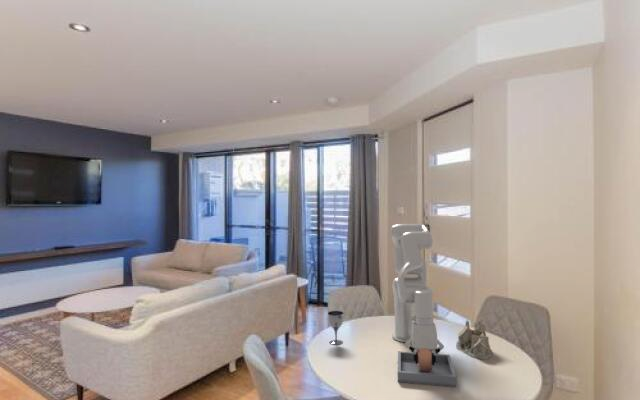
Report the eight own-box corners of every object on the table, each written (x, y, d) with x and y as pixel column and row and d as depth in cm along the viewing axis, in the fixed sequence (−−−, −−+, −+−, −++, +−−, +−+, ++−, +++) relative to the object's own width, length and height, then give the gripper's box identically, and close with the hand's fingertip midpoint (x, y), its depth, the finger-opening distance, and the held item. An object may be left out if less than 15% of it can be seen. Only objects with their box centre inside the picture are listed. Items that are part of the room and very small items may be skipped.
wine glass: (342, 346, 180) (342, 315, 180) (327, 345, 182) (326, 315, 182) (344, 339, 188) (344, 310, 188) (329, 339, 190) (329, 310, 190)
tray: (398, 360, 164) (398, 351, 164) (449, 363, 159) (449, 354, 159) (397, 382, 144) (397, 372, 144) (456, 387, 139) (456, 376, 139)
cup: (417, 363, 155) (416, 342, 155) (431, 364, 154) (431, 343, 154) (417, 370, 149) (417, 348, 149) (433, 371, 148) (432, 349, 148)
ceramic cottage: (458, 341, 183) (458, 312, 182) (494, 349, 174) (495, 319, 173) (450, 354, 170) (451, 323, 169) (489, 364, 161) (489, 331, 160)
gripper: (402, 322, 150) (403, 365, 150) (446, 324, 146) (447, 369, 146) (402, 316, 157) (403, 357, 157) (444, 318, 153) (445, 360, 153)
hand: (424, 362), depth 151 cm, fingers closed on cup, 6 cm apart
